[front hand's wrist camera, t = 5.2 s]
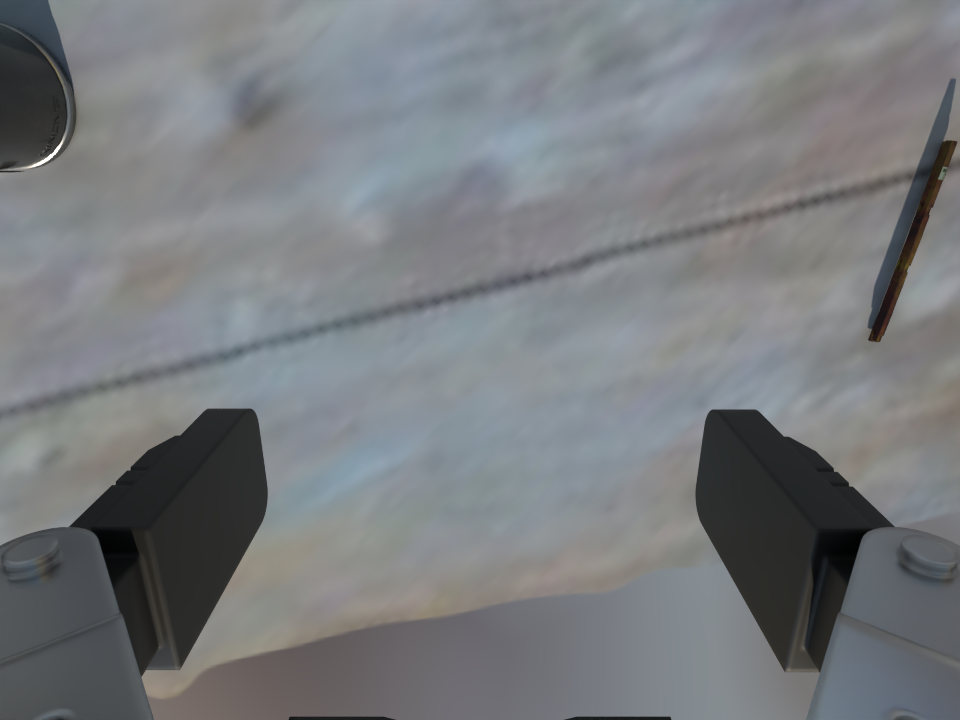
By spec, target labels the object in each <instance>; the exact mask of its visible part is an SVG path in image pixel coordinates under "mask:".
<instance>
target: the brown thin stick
mask: <svg viewBox="0 0 960 720" xmlns="http://www.w3.org/2000/svg"><path fill="white" fill-rule="evenodd" d="M956 144H957V142H956V141H945V142H943V143H942V145H941V147H940V150H939V153H938V156H937V158H936V161H935V163H934V166H933V169H932V172H931V174H930V177H929V179H928V182H927V185H926V188H925V190H924V192H923V195H922V198H921V201H920V204H919V206H918V209H917V212H916V215H915V217H914V220H913V223H912V225H911V228H910V231H909V234H908V237H907V239H906V242H905V244H904V247H903V249H902V252H901V255H900V257H899V260H898V262H897V265H896V268H895V270H894V273H893V276H892V278H891V281H890V284H889V287H888V289H887V292H886V294H885V297H884V300H883V303H882V306H881V308H880V311H879V313H878V316H877V318H876V321H875V323H874V326H873V329H872V331H871V334H870V337H869V339H868V340H869V341H874V342H880V340H881V338H882V336H884V334H885V331H886V328H887V326H888V323H889V321H890V318H891V316H892V313H893V310H894V308H895V305H896V302H897V299H898V297H899V295H900V292H901V289H902V287H903V284H904V281H905V278H906V276H907V270H908V267H909V266H911V263H912V260H913V258H914V256H915V253H916V250H917V248H918V245H919V243H920V240H921V238H922V235H923V232H924V229H925V227H926V224H927V222H928V219H929V212H930V210H931V208H932V207H933V205H934V203H935V200H936V197H937V195H938V192H939V189H940V186H941V184H942V181H943V179H944V177H945V175H946V172H947V169H948V165H949V163H950V160H951V157H952V155H953V153H954V150H955V147H956Z"/></svg>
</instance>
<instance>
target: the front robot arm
mask: <svg viewBox="0 0 960 720" xmlns="http://www.w3.org/2000/svg"><path fill="white" fill-rule="evenodd" d="M75 123H76V105H75V99H74V94H73V91H72V88H71V85H70V82H69V80H68V78H67V76H66V74H65V72H64V70H63V68H62V67H61V65H60V64H59V62H58V61H57V60H56V58H55V57H54V56H53V55H52V53H51V52H50V51H49V50H48V49H47V48H46V47H45V46H44V45H43V44H42V43H40V42H39V41H38V40H37V39H35V38H34V37H32V36H31V35H29V34H28V33H26V32H24V31H22V30H20V29H18V28H16V27H14V26H11V25H8V24H4V23H0V170H2V169H12V170H20V169H32V168H37V167H41V166H44V165H46V164H48V163H50V162H52V161H53V160H55V159H56V158H57V157H59V156H60V155H61V154H62V153H63V151H64V150H65V149H66V148H67V146H68V144H69V143H70V140H71V138H72V136H73V133H74V129H75ZM0 172H22V171H0ZM267 498H268V489H267V480H266V473H265V466H264V458H263V451H262V444H261V437H260V429H259V423H258V418H257V415H256V413H255V412H254V410H252V409H207V410H205V411H204V412H203V413H202V414H201V415H200V416H199V417H198V418H197V419H196V420H195V421H194V422H193V423H192V424H191V425H190V426H189V427H188V428H187V429H186V430H185V431H184V432H183V433H182V434H181V435H180V436H174V437H172V438H170V439H168V440H166V441H165V442H163V443H161V444H159V445H157V446H155V447H153V448H152V449H150V450H148V451H147V452H146V453H145V454H144V455H143V456H142V457H141V458H140V459H139V460H138V461H137V462H136V463H135V464H134V465H133V466H132V467H131V470H130V471H126V472H125V473H124V474H123V475H122V476H121V477H120V478H119V479H118V480H117V481H116V485H112V486H111V487H110V488H109V489H108V490H107V491H106V492H105V493H104V494H103V495H101V496H100V497H99V498H98V499H97V500H96V501H95V502H94V503H93V504H92V505H91V506H90V507H89V508H88V509H87V510H86V511H85V512H84V513H83V514H82V515H81V516H80V517H79V518H78V519H77V520H76V521H75V522H74V523H72V524H71V525H70V526H69V527H60V528H51V529H46V530H41V531H37V532H34V533H30V534H27V535H24V536H21V537H18V538H16V539H14V540H11V541H9V542H7V543H5V544H3V545H1V546H0V720H154V718H153V715H152V712H151V708H150V705H149V702H148V698H147V695H146V692H145V688H144V685H143V682H142V678H141V677H142V675H143V674H144V672H145V670H180V669H181V667H182V665H183V664H184V662H185V660H186V658H187V656H188V655H189V653H190V651H191V649H192V647H193V646H194V644H195V642H196V640H197V638H198V637H199V635H200V633H201V631H202V629H203V628H204V626H205V624H206V622H207V620H208V619H209V617H210V615H211V613H212V611H213V610H214V608H215V606H216V604H217V602H218V601H219V599H220V597H221V595H222V593H223V592H224V590H225V588H226V586H227V584H228V583H229V581H230V579H231V577H232V575H233V574H234V572H235V570H236V568H237V566H238V565H239V563H240V561H241V559H242V557H243V556H244V554H245V552H246V550H247V548H248V547H249V545H250V543H251V541H252V539H253V538H254V536H255V534H256V532H257V530H258V529H259V527H260V525H261V523H262V521H263V519H264V516H265V512H266V507H267ZM696 506H697V512H698V516H699V519H700V522H701V524H702V526H703V527H704V529H705V531H706V533H707V534H708V536H709V538H710V540H711V542H712V543H713V545H714V547H715V549H716V550H717V552H718V554H719V556H720V558H721V559H722V561H723V563H724V565H725V566H726V568H727V570H728V572H729V574H730V575H731V577H732V579H733V581H734V582H735V584H736V586H737V588H738V589H739V591H740V593H741V595H742V597H743V598H744V600H745V602H746V604H747V605H748V607H749V609H750V611H751V613H752V614H753V616H754V618H755V620H756V621H757V623H758V625H759V627H760V629H761V630H762V632H763V634H764V636H765V638H766V639H767V641H768V643H769V645H770V646H771V648H772V650H773V652H774V653H775V655H776V657H777V659H778V661H779V662H780V664H781V666H782V668H783V670H784V671H785V672H820V675H819V678H818V682H817V685H816V688H815V692H814V695H813V698H812V702H811V705H810V708H809V712H808V715H807V719H806V720H960V546H959V545H957V544H955V543H953V542H951V541H949V540H946V539H944V538H942V537H939V536H936V535H933V534H930V533H926V532H923V531H919V530H914V529H909V528H900V527H894V526H893V525H892V524H891V523H890V522H889V521H888V520H887V519H886V518H885V517H884V516H883V515H882V514H881V513H880V512H879V511H878V510H877V509H876V508H874V507H873V506H872V505H871V504H870V503H869V502H868V501H867V500H866V499H865V498H864V497H863V496H862V495H861V494H860V493H859V492H858V491H857V490H856V489H855V488H854V487H849V483H848V482H847V481H846V480H845V479H844V478H843V477H842V476H841V475H840V474H839V473H838V472H834V468H833V467H832V466H831V465H830V464H829V463H827V462H826V461H825V460H824V459H823V458H822V457H821V456H820V455H819V454H818V453H817V452H816V451H814V450H812V449H810V448H809V447H807V446H805V445H803V444H801V443H799V442H797V441H796V440H794V439H792V438H790V437H784V436H783V435H782V434H781V433H780V432H779V431H778V430H777V429H776V428H775V427H774V426H773V425H772V424H771V423H770V422H769V421H768V420H767V419H766V418H765V417H764V416H763V415H762V414H761V413H760V412H759V411H757V410H711V411H710V412H709V413H708V415H707V417H706V421H705V426H704V433H703V440H702V447H701V454H700V462H699V469H698V476H697V483H696ZM289 720H394V719H390V718H386V717H289ZM566 720H671V717H574V718H570V719H566Z"/></svg>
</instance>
